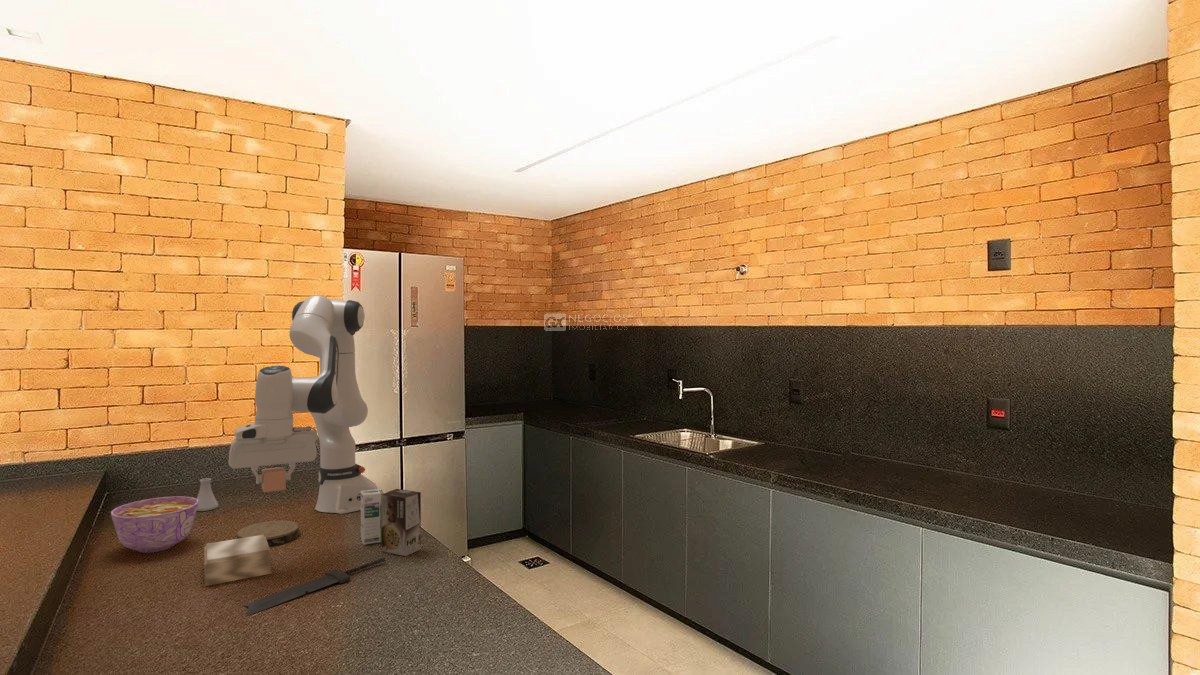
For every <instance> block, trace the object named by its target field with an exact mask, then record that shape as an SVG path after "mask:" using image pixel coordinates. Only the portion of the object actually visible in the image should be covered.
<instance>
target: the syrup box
mask: <svg viewBox="0 0 1200 675" xmlns="http://www.w3.org/2000/svg"><path fill="white" fill-rule="evenodd" d="M381 494H384V491H383V489H382V488H378V489H374V490H365V491H361V510H360V539H361V542H362V545H363V546H366V545H370V544H371V545H372V544H379V543H382V538H381Z"/></svg>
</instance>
